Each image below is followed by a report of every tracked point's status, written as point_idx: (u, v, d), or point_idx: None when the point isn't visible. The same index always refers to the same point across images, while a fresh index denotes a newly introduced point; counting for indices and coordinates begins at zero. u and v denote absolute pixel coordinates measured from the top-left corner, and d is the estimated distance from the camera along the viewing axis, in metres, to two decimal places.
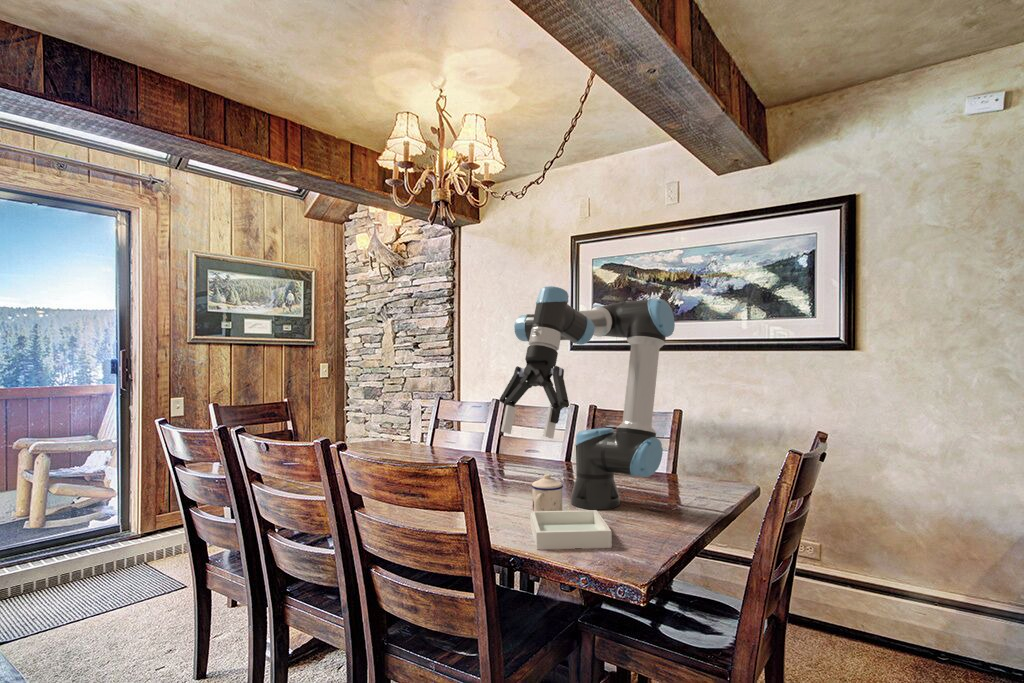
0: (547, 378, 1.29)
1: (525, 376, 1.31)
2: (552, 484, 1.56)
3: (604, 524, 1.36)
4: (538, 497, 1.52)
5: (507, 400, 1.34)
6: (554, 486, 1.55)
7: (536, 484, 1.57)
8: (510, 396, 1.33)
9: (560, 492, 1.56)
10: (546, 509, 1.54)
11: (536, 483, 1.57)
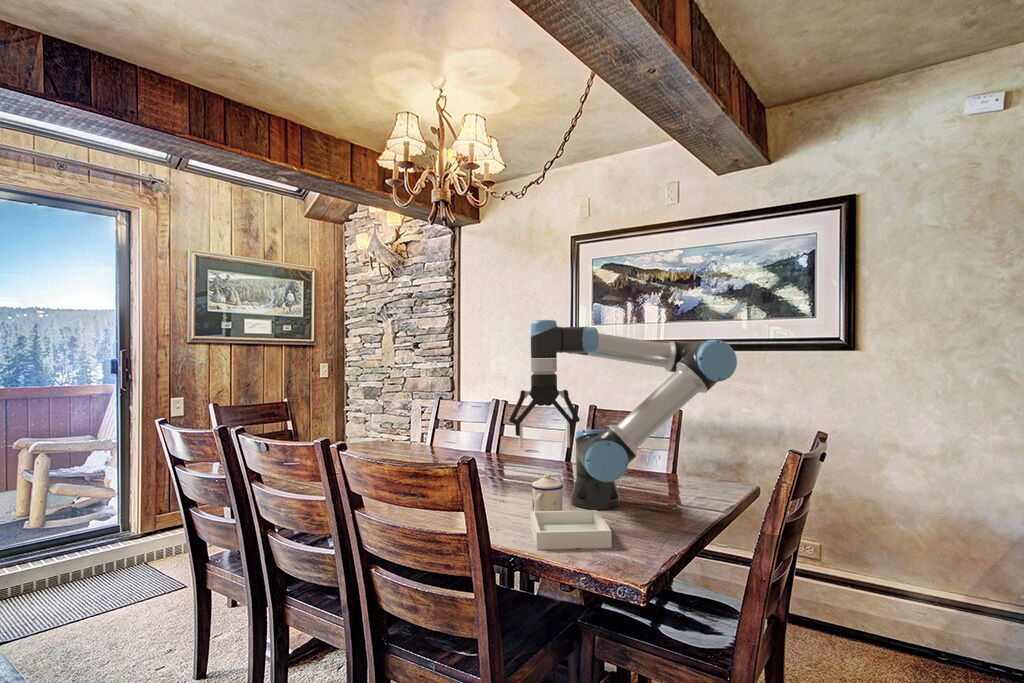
0: None
1: None
2: (552, 484, 1.56)
3: (604, 524, 1.36)
4: (538, 497, 1.52)
5: None
6: (554, 486, 1.55)
7: (536, 484, 1.57)
8: None
9: (560, 492, 1.56)
10: (546, 509, 1.54)
11: (536, 483, 1.57)
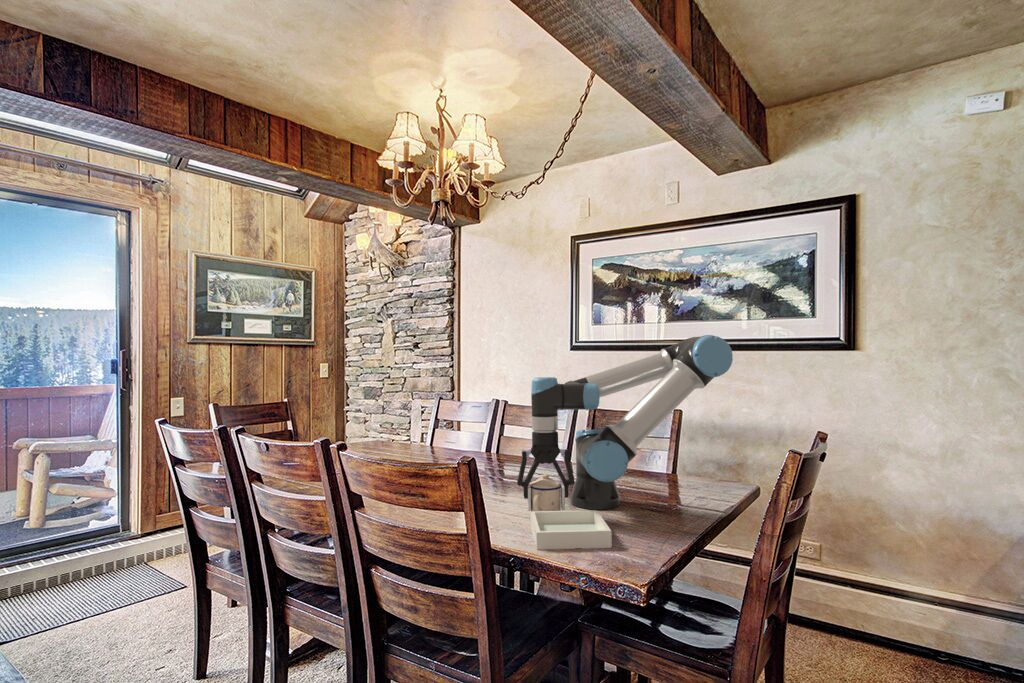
0: None
1: None
2: (550, 484, 1.56)
3: (604, 524, 1.36)
4: (536, 497, 1.52)
5: None
6: (552, 486, 1.55)
7: (534, 484, 1.57)
8: None
9: (558, 492, 1.56)
10: (544, 509, 1.54)
11: (534, 483, 1.57)
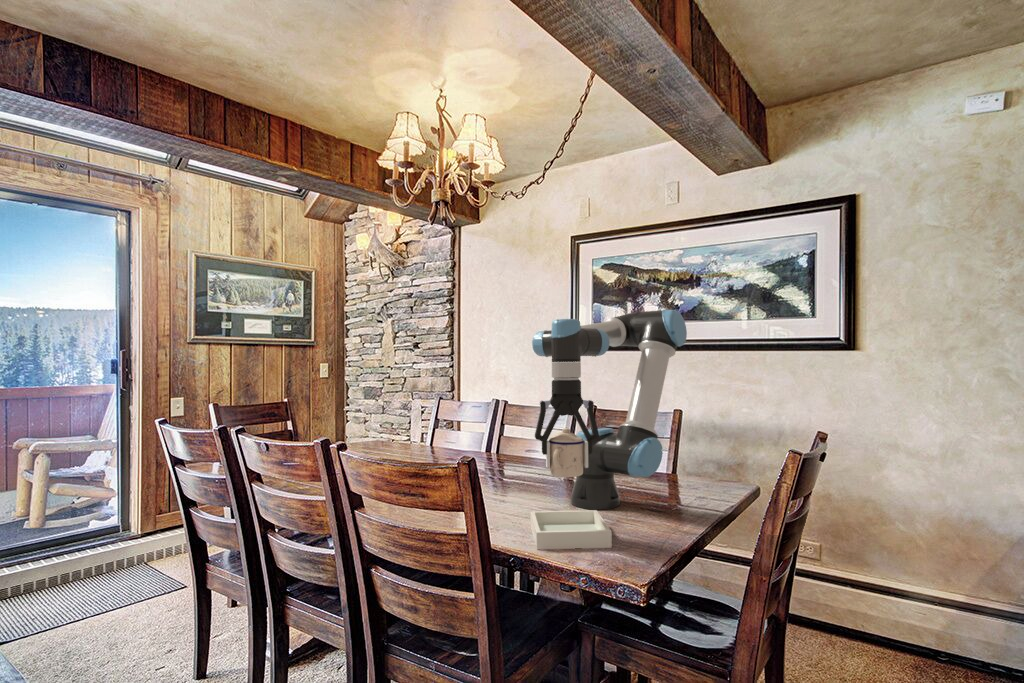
0: None
1: None
2: (572, 438, 1.38)
3: (604, 524, 1.36)
4: (556, 451, 1.35)
5: None
6: (574, 440, 1.38)
7: (554, 438, 1.39)
8: None
9: (581, 447, 1.39)
10: (565, 466, 1.37)
11: (554, 437, 1.40)
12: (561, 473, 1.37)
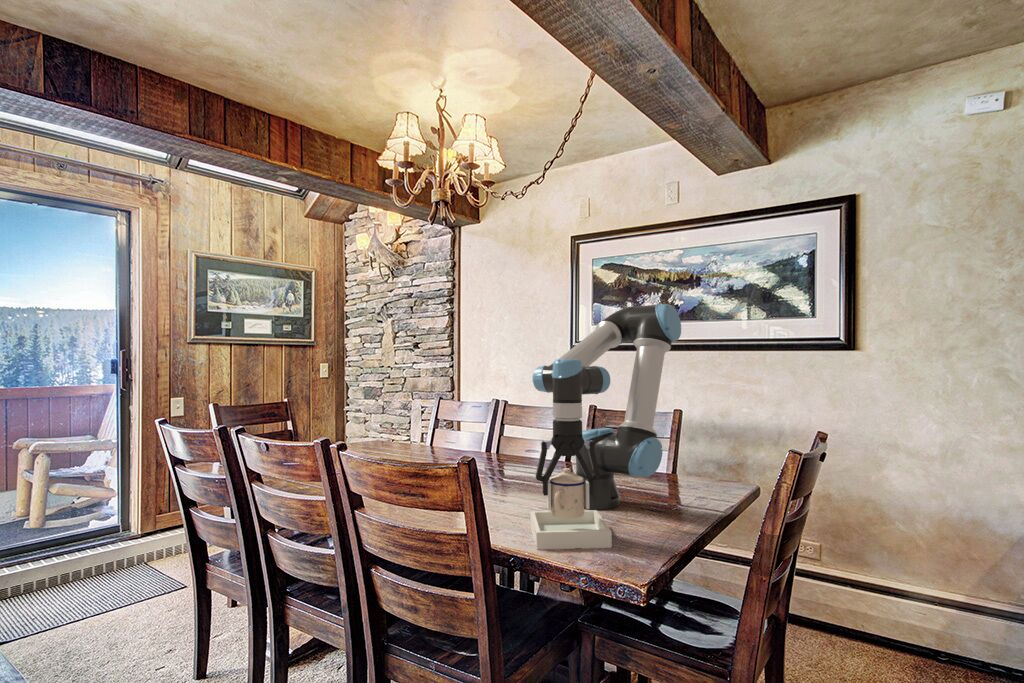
0: None
1: None
2: (573, 479, 1.38)
3: (604, 524, 1.36)
4: (558, 493, 1.35)
5: None
6: (575, 481, 1.37)
7: (555, 479, 1.39)
8: None
9: (582, 488, 1.39)
10: (566, 507, 1.36)
11: (555, 478, 1.40)
12: (562, 514, 1.37)
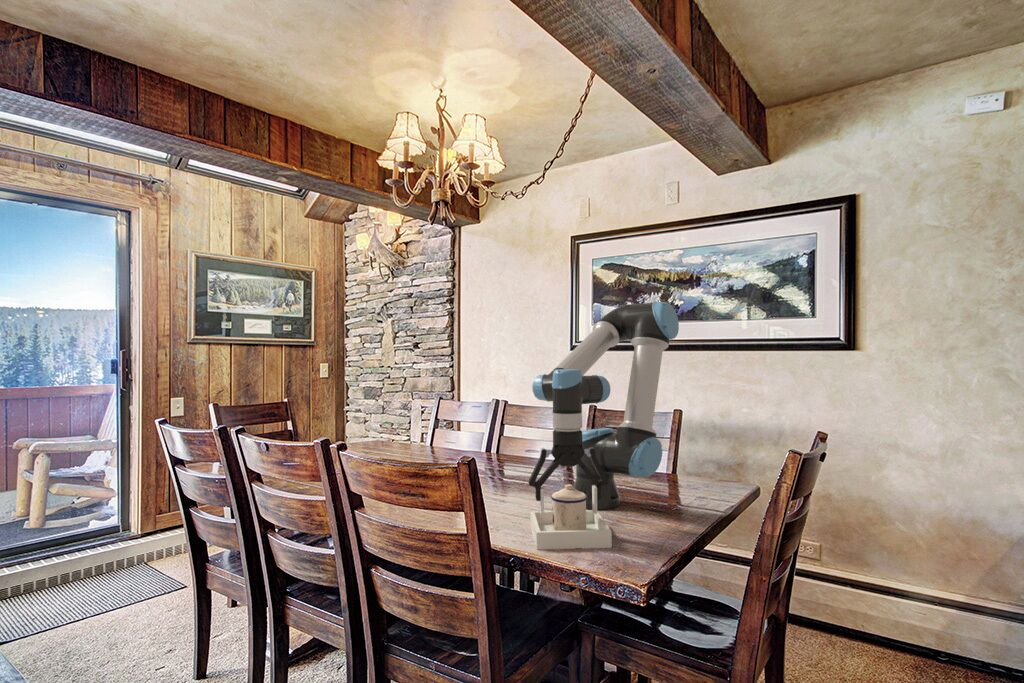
0: None
1: None
2: (575, 496, 1.38)
3: (604, 524, 1.36)
4: (559, 511, 1.35)
5: None
6: (577, 498, 1.37)
7: (557, 496, 1.39)
8: None
9: (584, 505, 1.39)
10: (568, 524, 1.37)
11: (556, 494, 1.40)
12: None
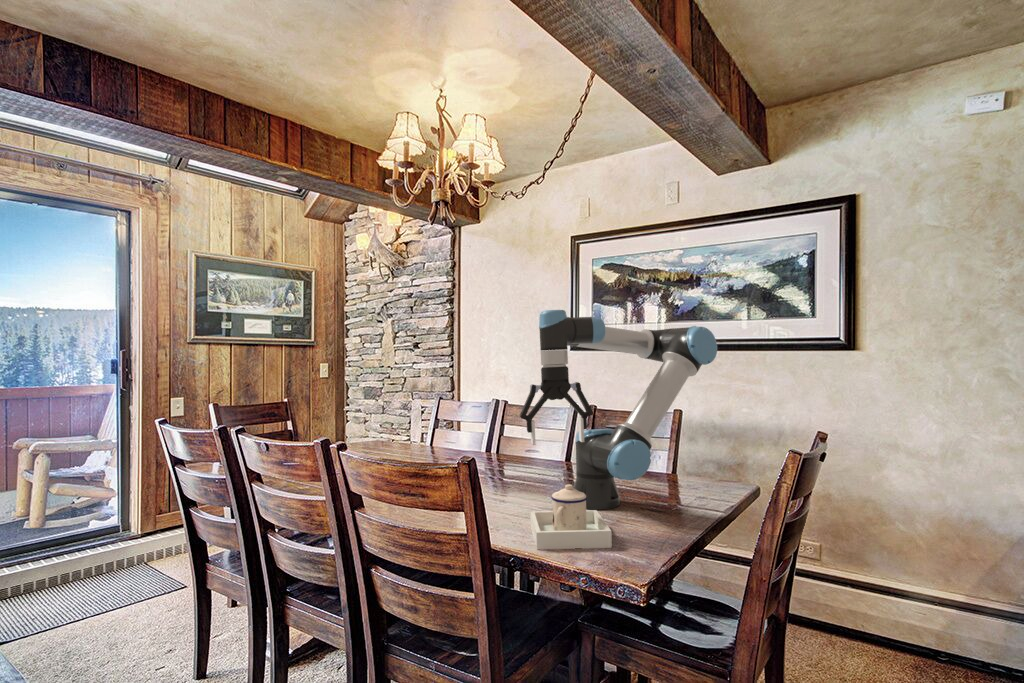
0: (545, 393, 1.50)
1: None
2: (575, 496, 1.38)
3: (604, 524, 1.36)
4: (559, 511, 1.35)
5: None
6: (577, 498, 1.37)
7: (557, 496, 1.39)
8: None
9: (584, 505, 1.39)
10: (568, 524, 1.37)
11: (557, 494, 1.40)
12: None
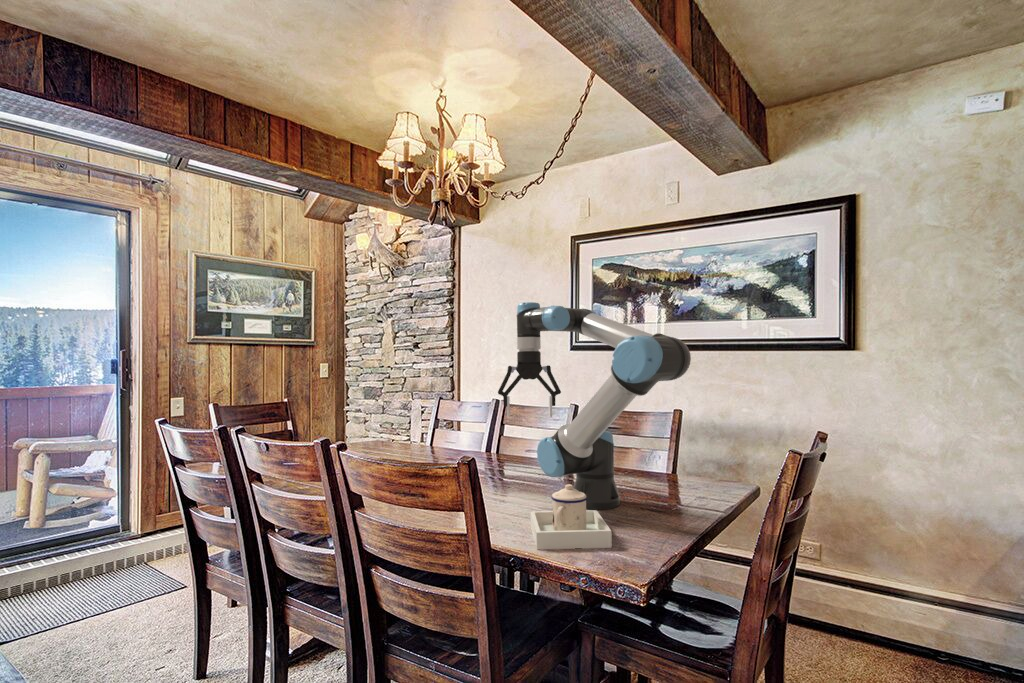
0: None
1: None
2: (575, 496, 1.38)
3: (604, 524, 1.36)
4: (559, 511, 1.35)
5: None
6: (577, 498, 1.37)
7: (557, 496, 1.39)
8: None
9: (584, 505, 1.39)
10: (568, 524, 1.37)
11: (557, 494, 1.40)
12: None
